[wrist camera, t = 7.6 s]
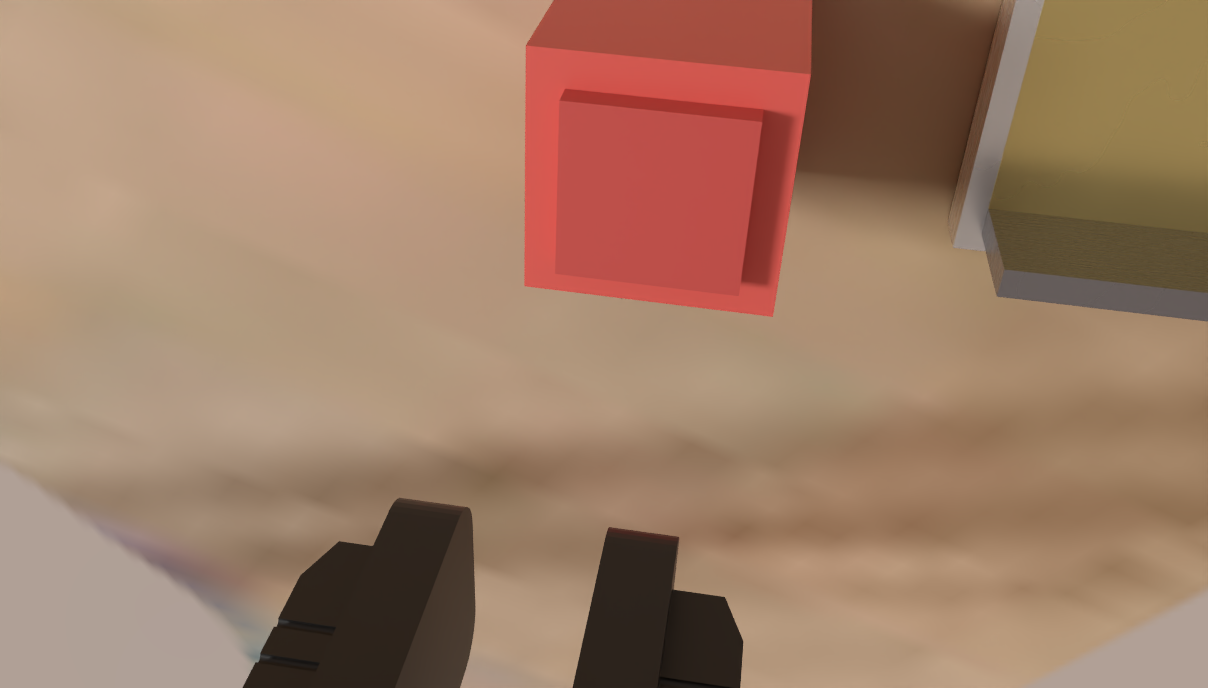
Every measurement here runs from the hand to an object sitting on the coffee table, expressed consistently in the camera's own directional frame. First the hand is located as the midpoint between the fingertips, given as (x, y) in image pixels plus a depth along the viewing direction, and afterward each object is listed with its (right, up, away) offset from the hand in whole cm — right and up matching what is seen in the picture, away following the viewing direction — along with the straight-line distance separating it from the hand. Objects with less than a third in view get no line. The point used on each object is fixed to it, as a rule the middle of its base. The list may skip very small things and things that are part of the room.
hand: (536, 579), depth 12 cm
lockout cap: (+3, +8, +12) cm, 15 cm away
